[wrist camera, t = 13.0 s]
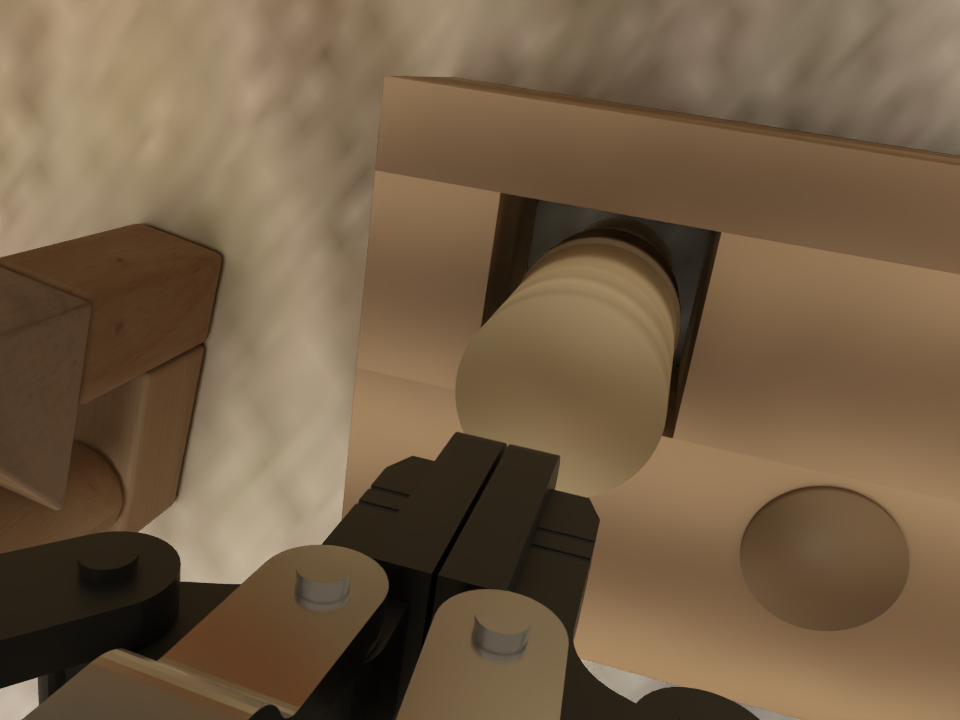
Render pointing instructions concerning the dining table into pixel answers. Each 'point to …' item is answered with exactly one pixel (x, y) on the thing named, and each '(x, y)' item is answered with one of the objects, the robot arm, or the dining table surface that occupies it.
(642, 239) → the peg
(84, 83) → the dining table surface
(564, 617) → the robot arm
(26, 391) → the wooden block
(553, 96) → the seat block
